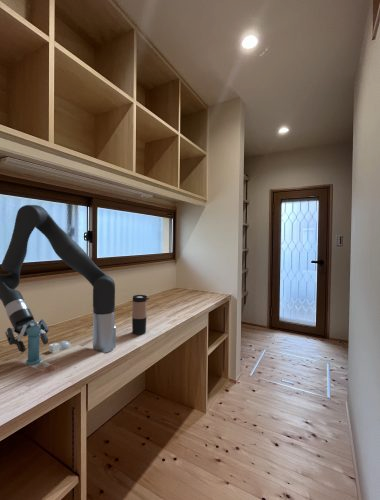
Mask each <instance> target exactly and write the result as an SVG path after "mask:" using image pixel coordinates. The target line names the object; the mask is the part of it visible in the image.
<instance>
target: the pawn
mask: <svg viewBox="0 0 380 500" xmlns="http://www.w3.org/2000/svg"><path fill="white" fill-rule="evenodd" d="M40 332H41V329H40V327H39V326H38V325H33V326H31V327H29V328H28V330H27V359H26V360H25V362H26V364H27V366H29V365H33V366H34V365H35V364H36V365H37V364H39V362H40V361H41V360H42V359H41V357H40V336H39V334H40ZM40 363H41V362H40ZM26 364H25V365H26Z"/></svg>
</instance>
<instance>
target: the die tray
mask: <svg viewBox="0 0 380 500" xmlns="http://www.w3.org/2000/svg"><path fill="white" fill-rule="evenodd" d="M71 347H72V345H71V343H70V342H69V341H67V340H62V341H61V342H54V343H50V344H48V352H49V353H52V354H54V353H57V352H59V351H65V350H68V349H71Z"/></svg>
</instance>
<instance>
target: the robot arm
mask: <svg viewBox="0 0 380 500" xmlns="http://www.w3.org/2000/svg"><path fill="white" fill-rule="evenodd" d="M16 213H17V214H16V217H15V222H14V227H13V231H12V234H11V239H10V242H9V244H8V247H7V249H6V253H5V254H4V257H3V260H2V262H1V264H0V266H1V269H2V270H3V271H5V272H8V273H3V274H2V273H0V301H1V303H2V305H3V306H4V309H5V312H6V315H7V317H8V320H9V321H10V324H11V326H12V328H11V327H7V329H6V330H5V332H4V333H5V337H6V339H7V341H8V344H9V345H10V346H12V345H16V347H17V349H18V352H21V353H24V352H25V351H26V349H27V348H26V346H25V344H24V342H23V337H28V335H27V330H28V328H29V327H31V326H33V325H37V326H39V327H40V329H41V332H40V334H39V339H41V341H42V344H43V345H47V344H48V342H49V338H48V336H47V334H48V332H49V331H50V328H49V327H48V325H47V324H46V322H45V320H44V319H43V318H41V319H40V320H39V321H36V320H35V318H34V315H33V314H32V311H31V309H30V307H29V305H28V303H27V302H26V301H25V298H24V297H23V294H22V293H21V292H20V291H19V290H18V289H16V288H17V287H18V286H19V285H20V282H21V281H20V279H21V269H22V266H23V264H24V262H25V259H26V257H27V252H28V244H29V240H30V237H31V234H32V233H33V232H34V229H37V230H38V231H39V232H40V233H42V235H43V236H45V238H46V239H47V241H48V242H49V244H50V245H51V247H52V249H53V251H54V254H56V255H57V257H58V258H59V259H61V261H63V263H65V265H66V266H68V267H70V268H71V269H72V270H74V271H75V272H77V273H79V274H80V275H82V276H83V277H84V278H85V279H86V281H88V282H89V284H90V285H91V286H92V308H93V309H92V310H93V311H92V312H93V313H92V315H93V316H92V327H93V328H92V350H93V351H95V352H99V353H102V354H106V353H109V352H111V351H113V350H114V349H115V348H116V346H117V345H116V341H117V339H116V337H117V334H116V333H117V327H116V326H115V312H116V311H115V310H116V309H115V308H116V304H115V303H116V301H115V300H116V283H115V280H114V279H113V278H112V277H111V276H110V275H108V274H107V273H105V272H104V271H103V270H102V269H101V268H100V267H98V265H97V264H95V262H94V261H93V260H92V258H91V257H90V256H89V255H88V253H87V252H86V251H85V250H84V249H83V248H82V247H81V246H80V245H79V244H78V243H77V242H76V241H75V240H73V238H72V237H71V236H70V235H69V234H68V233H67V232H65V231H64V230H63V229H62V228H61V227H60V226H59V224H58V223H57V222H56V221H55V220H54V219H53V217H52V216H51V215H50V213H49V212H48V211H47V210H46V209H45V208H44V207H42V206H41V205H37V204H27V205H23V206H21V207H19V208H18V210H17V212H16ZM14 333H15V334H17V337H15V334H14Z"/></svg>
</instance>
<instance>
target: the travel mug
mask: <svg viewBox="0 0 380 500" xmlns="http://www.w3.org/2000/svg"><path fill="white" fill-rule="evenodd" d="M147 298H148V296H147V295H146V294H134V295H132V314H131V317H132V318H131V320H132V321H131V323H132V324H131V328H132V331H131V333H132V335H136V336H140V335H145V334H146V332H147V316H148V315H147V311H148V310H147V309H148V308H147V306H148V304H147V301H148V299H147Z"/></svg>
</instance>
